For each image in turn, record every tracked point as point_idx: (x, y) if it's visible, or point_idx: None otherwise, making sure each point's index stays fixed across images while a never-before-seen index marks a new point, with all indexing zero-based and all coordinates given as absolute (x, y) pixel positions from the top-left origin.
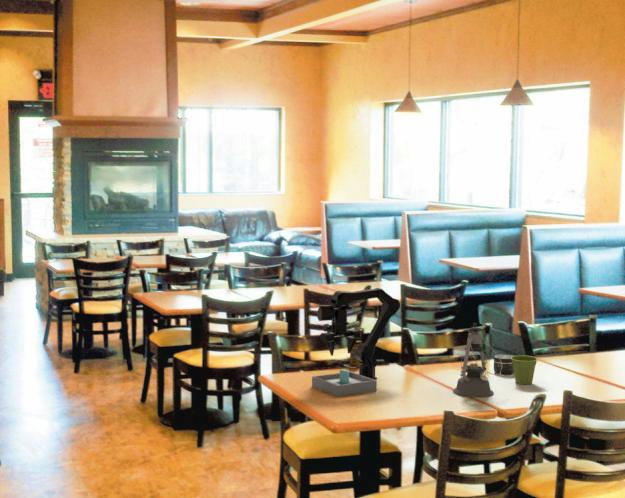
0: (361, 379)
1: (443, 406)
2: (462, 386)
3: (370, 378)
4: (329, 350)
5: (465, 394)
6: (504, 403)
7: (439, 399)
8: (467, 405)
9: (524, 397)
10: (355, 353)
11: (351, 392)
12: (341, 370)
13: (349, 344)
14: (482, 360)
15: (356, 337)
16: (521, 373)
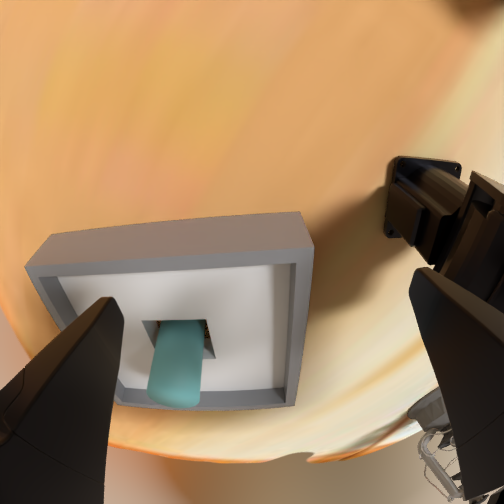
0: (287, 341)
1: (319, 445)
2: (422, 420)
3: (296, 387)
4: (55, 347)
5: (410, 416)
6: (404, 432)
7: (355, 425)
8: (356, 441)
9: None
10: (498, 228)
11: None
12: (156, 392)
13: (475, 390)
14: (452, 460)
15: (498, 492)
16: None
